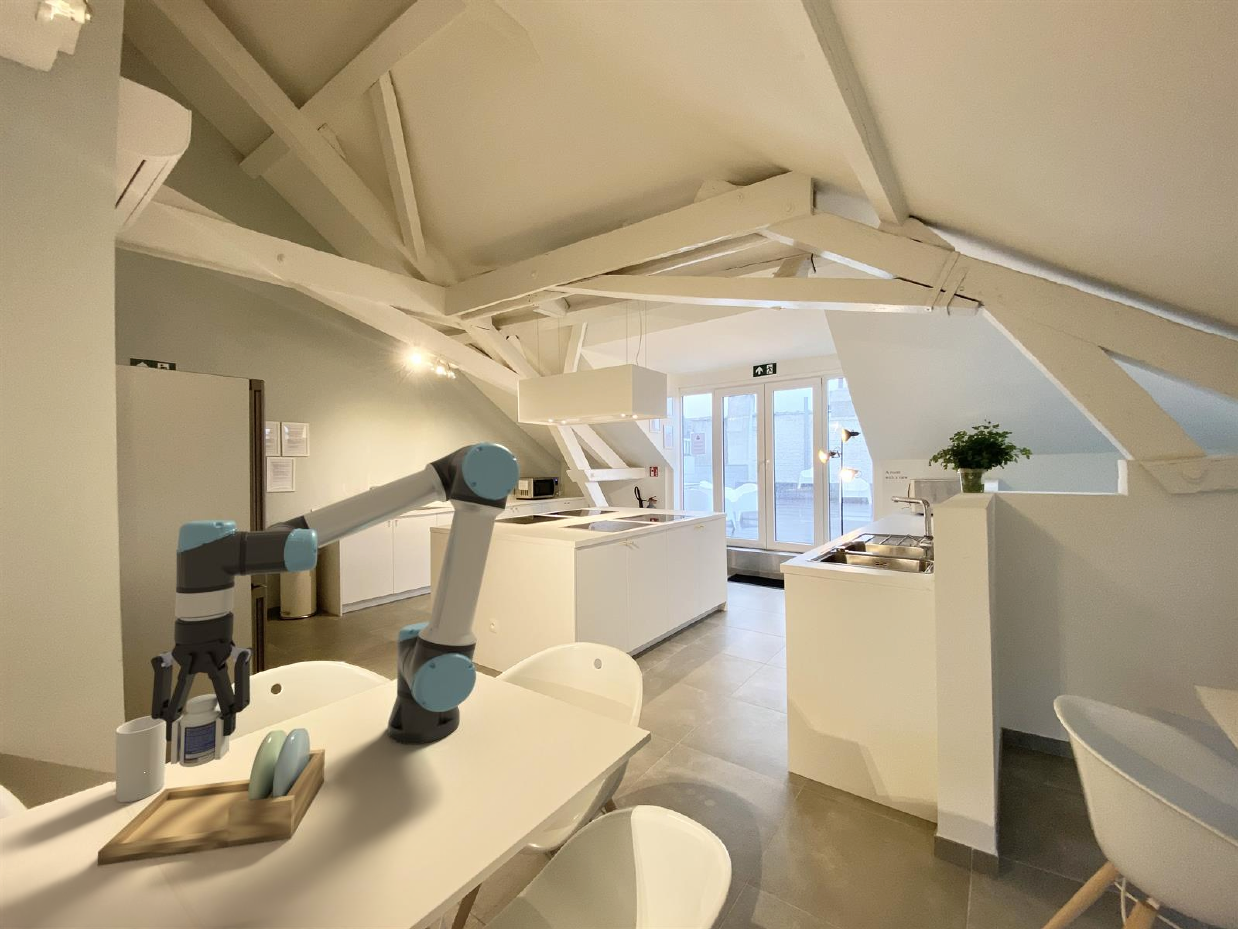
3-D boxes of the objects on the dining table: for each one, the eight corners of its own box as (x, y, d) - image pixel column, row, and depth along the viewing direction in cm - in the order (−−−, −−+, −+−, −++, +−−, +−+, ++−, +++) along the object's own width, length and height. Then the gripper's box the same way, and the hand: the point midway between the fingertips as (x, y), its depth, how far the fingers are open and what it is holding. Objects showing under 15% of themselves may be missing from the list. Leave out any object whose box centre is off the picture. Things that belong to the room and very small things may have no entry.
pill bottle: (229, 753, 84) (231, 694, 84) (193, 771, 79) (195, 708, 79) (207, 747, 86) (209, 690, 86) (170, 764, 81) (172, 703, 81)
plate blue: (309, 782, 91) (310, 715, 91) (280, 827, 80) (282, 751, 80) (301, 783, 91) (303, 716, 91) (272, 829, 79) (273, 751, 80)
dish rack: (324, 781, 93) (324, 749, 93) (290, 838, 78) (291, 800, 79) (165, 800, 87) (166, 765, 88) (97, 865, 73) (98, 823, 73)
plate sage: (288, 785, 90) (289, 717, 91) (256, 831, 79) (257, 753, 79) (280, 786, 90) (282, 718, 90) (247, 832, 78) (249, 754, 79)
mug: (151, 800, 88) (153, 730, 88) (103, 807, 86) (105, 735, 86) (183, 768, 97) (185, 705, 98) (141, 773, 95) (143, 709, 96)
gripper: (277, 606, 89) (274, 739, 88) (154, 611, 85) (149, 751, 84) (257, 617, 81) (253, 763, 81) (121, 624, 77) (116, 777, 77)
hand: (200, 757), depth 82 cm, fingers closed on pill bottle, 5 cm apart
